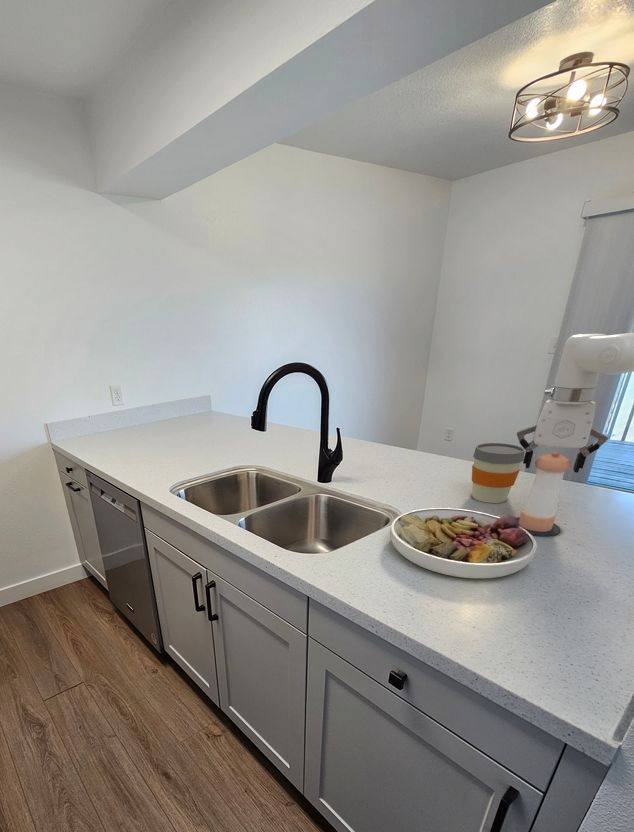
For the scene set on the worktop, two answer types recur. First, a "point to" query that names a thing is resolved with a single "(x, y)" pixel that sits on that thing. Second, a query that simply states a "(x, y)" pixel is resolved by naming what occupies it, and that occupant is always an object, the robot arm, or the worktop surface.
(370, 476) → the worktop surface
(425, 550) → the bowl
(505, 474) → the reusable coffee cup
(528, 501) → the salt shaker
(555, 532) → the coaster
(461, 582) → the worktop surface
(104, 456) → the worktop surface
